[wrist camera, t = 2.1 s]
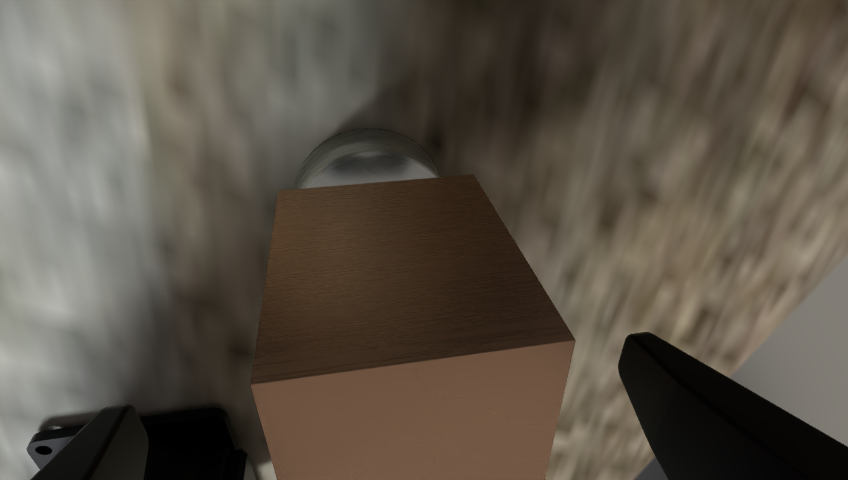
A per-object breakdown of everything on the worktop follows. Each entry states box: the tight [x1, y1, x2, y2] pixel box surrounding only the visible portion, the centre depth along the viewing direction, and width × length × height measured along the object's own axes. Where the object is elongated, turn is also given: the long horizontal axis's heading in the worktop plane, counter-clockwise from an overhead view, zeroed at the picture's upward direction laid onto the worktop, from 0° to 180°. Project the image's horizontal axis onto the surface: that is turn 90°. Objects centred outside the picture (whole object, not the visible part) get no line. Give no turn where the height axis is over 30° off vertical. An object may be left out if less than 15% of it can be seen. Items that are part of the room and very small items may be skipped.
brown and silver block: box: [250, 129, 576, 480], centre depth 11 cm, size 4×5×9 cm
